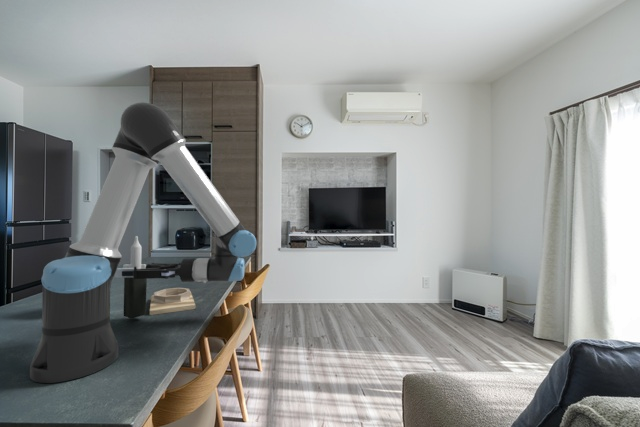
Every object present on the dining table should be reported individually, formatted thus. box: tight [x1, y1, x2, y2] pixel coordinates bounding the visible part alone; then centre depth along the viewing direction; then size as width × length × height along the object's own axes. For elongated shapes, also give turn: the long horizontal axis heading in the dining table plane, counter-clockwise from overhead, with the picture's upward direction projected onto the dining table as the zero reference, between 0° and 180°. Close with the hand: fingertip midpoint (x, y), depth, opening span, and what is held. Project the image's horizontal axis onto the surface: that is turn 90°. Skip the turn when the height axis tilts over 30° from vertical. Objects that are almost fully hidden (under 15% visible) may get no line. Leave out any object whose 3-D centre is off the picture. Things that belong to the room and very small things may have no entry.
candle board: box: [149, 287, 196, 316], centre depth 109 cm, size 20×14×4 cm
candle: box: [123, 235, 148, 319], centre depth 92 cm, size 5×5×25 cm
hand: (118, 270), depth 92 cm, fingers closed on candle, 6 cm apart
